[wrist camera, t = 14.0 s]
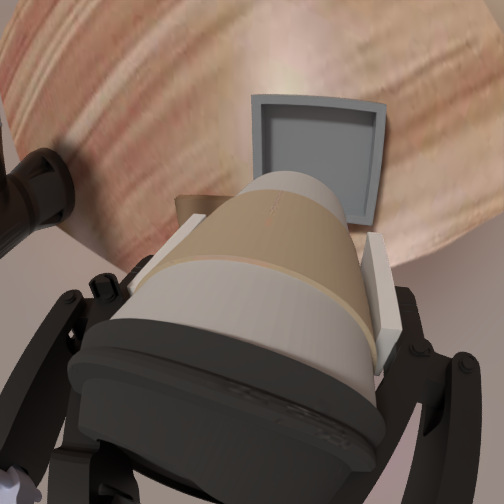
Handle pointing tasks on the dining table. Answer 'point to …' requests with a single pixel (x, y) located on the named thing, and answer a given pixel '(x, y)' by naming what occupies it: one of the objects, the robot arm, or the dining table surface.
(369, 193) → the tray
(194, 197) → the board
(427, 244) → the dining table surface
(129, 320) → the coffee cup
